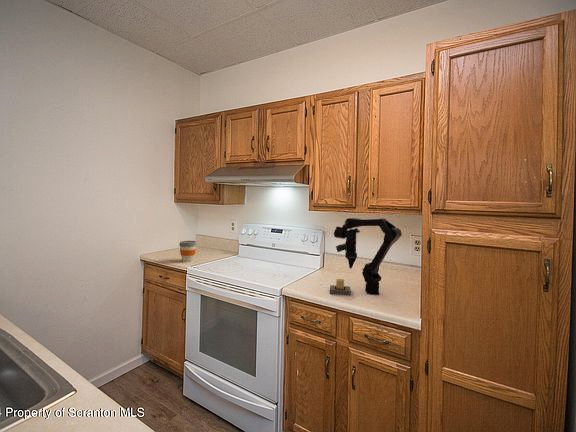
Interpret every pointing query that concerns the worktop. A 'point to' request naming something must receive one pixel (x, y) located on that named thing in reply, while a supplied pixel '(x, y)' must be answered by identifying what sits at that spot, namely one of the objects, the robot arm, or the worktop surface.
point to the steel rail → (340, 292)
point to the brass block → (340, 284)
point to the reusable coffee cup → (187, 250)
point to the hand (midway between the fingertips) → (350, 266)
